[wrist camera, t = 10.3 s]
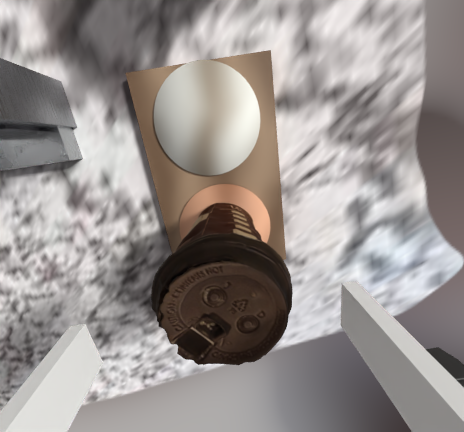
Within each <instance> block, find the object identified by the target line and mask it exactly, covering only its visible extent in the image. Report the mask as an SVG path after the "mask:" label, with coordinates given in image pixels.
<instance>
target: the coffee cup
mask: <svg viewBox="0 0 464 432" xmlns="http://www.w3.org/2000/svg"><path fill="white" fill-rule="evenodd" d="M151 300H152V309H153V310H154V311H155V313H156V315H157V321H158V322H159V327H162V328H163V329H165V331H166V333H167V337H168V339H169V341H170V343H171V344H177V345H178V352H177V354H179V355H180V356H182V357H183V358H184V359H190V360H194V362H195V363H197V364H198V365H199V364H203V365H204V364H208V363H210V364H232V365H240V364H242V363H244V362H255V361H256V360H259V359H260V358H261V357H262V356H264V355H266V354H267V353H268V352H269V351H270V350H271V349H272V348H273V347H274V346H275V345H276V343H277V342H278V341H279V340H280V339H281V337H282V335H283V334H284V331H285V330H286V327H287V323H288V315H289V313H290V310H291V307H292V284H291V277H290V273H289V271H288V269H287V267H286V265H285V263H284V261H283V259H282V257H281V256H280V255H279V254H278V253H277V252H276V251H275V250H274V249H273V248H272V247H270V246H269V245H268V244H267V243H265V242H263V241H262V238H261V235H260V233H259V232H258V231H257V230H256V229H255V226H254V224H253V219H252V217H251V216H250V214H249V213H248V212H247V211H245V210H244V209H243V208H241V207H239V206H237V205H235V204H232V203H225V202H222V203H214V204H212V205H210V206H209V207H207V208H206V209H205V210H203V211H202V212H201V214H200V215H199V217H198V219H197V220H196V221H195V223H194V224H193V226H192V228H191V229H190V230H189V232H188V234H187V235H186V236H185V237H184V238H183V240H182V241H181V243H180V244H179V246H178V247H177V249H176V251H175V253H173V254H172V255H170V256H169V257H168V259H167V260H166V261H165V262H164V263H163V264H162V266H161V267H160V268H159V270H158V271H157V273H156V275H155V277H154V281H153V285H152V294H151Z"/></svg>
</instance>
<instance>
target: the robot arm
mask: <svg viewBox="0 0 464 432" xmlns="http://www.w3.org/2000/svg"><path fill="white" fill-rule="evenodd" d="M341 326H342V328H343V329H344V331H345V332H346V334H347V335H348V337H349V338H350V340H351V341H352V343H353V344H354V346H355V347H356V349H357V350H358V352H359V353H360V355H361V356H362V358H363V359H364V361H365V362H366V364H367V365H368V367H369V368H370V370H371V371H372V372H373V374H374V375H375V377H376V378H377V380H378V381H379V383H380V384H381V386H382V387H383V389H384V390H385V392H386V393H387V395H388V396H389V398H390V399H391V401H392V402H393V404H394V405H395V407H396V408H397V410H398V411H399V413H400V414H401V416H402V417H403V419H404V420H405V422H406V423H407V425H408V426H409V428H410V429H411V430H412V432H464V365H463V364H462V363H461V362H460V361H459V360H458V359H456V358H454V357H453V356H451V355H450V354H448V353H446V352H445V351H443V350H441V349H440V348H432V349H424V348H423V347H422V346H421V345H420V344H419V343H418V342H417V341H416V340H415V339H414V338H413V337H412V336H411V335H410V334H409V333H408V332H407V331H406V330H405V329H404V328H403V327H402V326H401V325H400V324H399V323H398V322H397V321H396V320H395V319H394V318H393V317H392V316H391V315H390V314H389V313H388V312H387V311H386V310H385V309H384V308H383V307H382V306H381V305H380V304H379V303H378V302H377V301H376V300H375V299H374V298H373V297H372V296H371V295H370V294H369V293H368V292H367V291H366V290H365V289H364V288H363V287H362V286H361V285H360V284H359V283H358V282H357V281H352V282H346V283H342V294H341ZM102 365H103V361H102V359H101V357H100V355H99V352H98V350H97V348H96V346H95V344H94V342H93V339H92V337H91V335H90V333H89V331H88V329H87V326H86V324H80V325H74V326H70V327H69V328H68V329H67V331H66V332H65V333H64V334H63V335H62V337H61V338H60V339H59V340H58V342H57V343H56V344H55V345H54V346H53V348H52V349H51V350H50V351H49V353H48V354H47V355H46V356H45V357H44V359H43V360H42V361H41V362H40V364H39V365H38V366H37V367H36V368H35V370H34V371H33V372H32V373H31V375H30V376H29V377H28V378H27V380H26V381H25V382H24V383H23V384H22V386H21V387H20V388H19V389H18V391H17V392H16V393H15V394H14V395H13V397H12V398H11V399H10V400H9V402H8V403H7V404H6V405H5V406H4V408H3V409H2V410H1V411H0V432H67V431H68V429H69V427H70V426H71V424H72V422H73V420H74V418H75V416H76V414H77V412H78V410H79V408H80V407H81V405H82V403H83V401H84V399H85V397H86V395H87V393H88V391H89V390H90V388H91V386H92V384H93V382H94V380H95V378H96V376H97V374H98V372H99V371H100V369H101V367H102Z"/></svg>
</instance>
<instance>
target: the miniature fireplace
mask: <svg viewBox="0 0 464 432" xmlns="http://www.w3.org/2000/svg"><path fill="white" fill-rule="evenodd" d="M75 127H77V126H76V123H75V121H74V118H73V115H72V112H71V109H70V106H69V103H68V100H67V97H66V94H65V92H64V89H63V86H62V83H61V81H58V80H56V79H53V78H50V77H48V76H45V75H43V74H40V73H37V72H35V71H32V70H30V69H27V68H25V67H22V66H19V65H17V64H14V63H12V62H9V61H6V60H4V59H1V58H0V171H3V170H11V169H19V168H26V167H32V166H39V165H45V164H52V163H58V162H65V161H72V160H78V159H83V158H82V155H81V153H80V150H79V147H78V144H77V141H76V138H75V135H74V133H73V130H72V128H75Z"/></svg>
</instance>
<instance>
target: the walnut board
mask: <svg viewBox="0 0 464 432" xmlns="http://www.w3.org/2000/svg"><path fill="white" fill-rule="evenodd" d="M126 77H127V81H128V85H129V89H130V93H131V96H132V100H133V104H134V108H135V112H136V116H137V120H138V123H139V127H140V131H141V135H142V139H143V143H144V147H145V150H146V154H147V158H148V162H149V166H150V170H151V174H152V177H153V181H154V185H155V189H156V193H157V197H158V201H159V205H160V208H161V212H162V216H163V220H164V224H165V228H166V232H167V235H168V239H169V243H170V247H171V251H172V254H173V253H175V251H176V249H177V247H178V246H179V244H180V243H181V241H182V240H183V238H184V237H185V236H186V235H187V234H188V232H189V230H190V229H191V228H192V226H193V224H194V223H195V221H196V220H197V219H198V217H199V215H200V214H201V212H202V211H203V210H205V209H206V208H207V207H209V206H210V205H212V204H214V203H222V202H225V203H232V204H235V205H237V206H239V207H241V208H243V209H244V210H245V211H247V212H248V213H249V214H250V216H251V217H252V219H253V224H254V226H255V229H256V230H257V231H258V232H259V233H260V235H261V238H262V241H263V242H265V243H267V244H268V245H269V246H270V247H272V248H273V249H274V250H275V251H276V252H277V253H278V254H279V255H280V256H281V257H282V259H283V260H284V259H286V252H285V239H284V225H283V211H282V198H281V184H280V171H279V157H278V143H277V130H276V116H275V102H274V89H273V75H272V62H271V50H269V51H263V52H256V53H250V54H244V55H237V56H231V57H224V58H218V59H212V60H197V61H193V62H189V63H186V64H180V65H173V66H167V67H161V68H154V69H148V70H142V71H135V72H129V73H126Z"/></svg>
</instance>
